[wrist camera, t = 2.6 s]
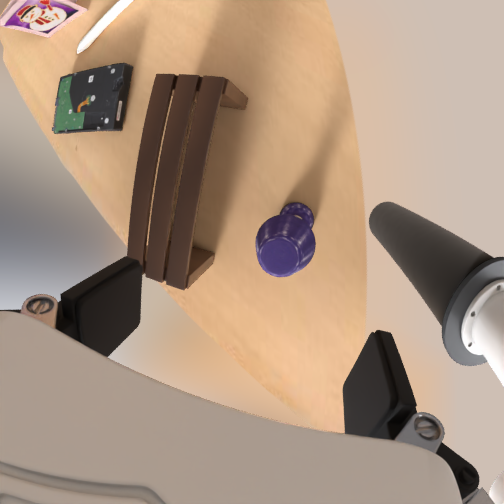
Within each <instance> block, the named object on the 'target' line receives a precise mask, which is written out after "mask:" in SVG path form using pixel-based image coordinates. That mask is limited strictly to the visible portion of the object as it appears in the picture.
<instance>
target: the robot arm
mask: <svg viewBox="0 0 504 504" xmlns="http://www.w3.org/2000/svg"><path fill="white" fill-rule="evenodd" d="M142 271H143V267H142V265H140V262H139V260H136V259H133V258H130V257H127V256H126V257H123V258H122V259H120V260H118V261H116V262H115V263H113V264H111V265H109V266H107V267H106V268H104V269H102V270H101V271H99V272H97V273H96V274H94V275H92V276H90V277H89V278H87V279H85V280H83V281H82V282H80V283H78V284H77V285H75V286H73V287H72V288H70V289H68V290H67V291H65V292H63V293H62V294H61V301H60V302H57V300H56V299H55V298H54V297H52V296H49V295H45V294H38V295H34V296H31V297H29V298H28V299H26V300H25V301H24V303H23V305H22V309H21V310H0V504H504V471H503V472H502V473H501V474H500V475H499V476H498V477H497V478H496V479H495V481H494V482H493V484H492V486H491V489H490V492H489V495H488V494H487V493H486V491H485V490H484V489H483V488H481V489H478V488H477V487H478V485H479V475H478V472H477V470H476V469H475V468H474V467H473V466H472V465H471V464H470V463H468V462H467V461H466V460H464V459H463V458H462V457H460V456H459V455H458V454H456V453H455V452H454V451H452V450H451V449H450V448H449V447H447V446H446V445H444V444H443V443H442V440H443V438H444V434H445V432H444V427H443V425H442V423H441V422H440V421H439V420H438V419H437V418H436V417H435V416H433V415H431V414H429V413H425V412H419V413H417V411H416V406H417V404H416V401H415V398H414V395H413V392H412V389H411V386H410V383H409V380H408V377H407V374H406V371H405V368H404V366H403V363H402V360H401V357H400V354H399V352H398V349H397V347H396V344H395V341H394V339H393V336H392V334H391V333H389V332H385V331H381V330H377V331H376V332H375V333H374V332H372V333H371V334H370V335H369V337H368V339H367V341H366V343H365V345H364V347H363V349H362V351H361V353H360V355H359V357H358V359H357V361H356V363H355V364H354V366H353V368H352V370H351V372H350V373H349V375H348V377H347V379H346V381H345V383H344V385H343V403H344V422H345V434H344V433H337V432H331V431H325V430H319V429H314V428H309V427H304V426H298V425H294V424H290V423H285V422H281V421H277V420H273V419H269V418H265V417H262V416H258V415H254V414H251V413H247V412H243V411H240V410H237V409H234V408H230V407H227V406H224V405H221V404H218V403H215V402H212V401H209V400H206V399H203V398H200V397H198V396H195V395H192V394H189V393H187V392H184V391H181V390H179V389H176V388H174V387H171V386H169V385H166V384H164V383H161V382H159V381H157V380H154V379H152V378H150V377H148V376H145V375H143V374H141V373H138V372H136V371H134V370H132V369H130V368H128V367H126V366H123V365H121V364H119V363H117V362H115V361H113V360H111V359H109V358H107V357H108V356H109V355H110V354H111V353H112V352H113V351H114V350H115V349H116V348H117V347H118V346H119V345H120V344H121V343H122V342H123V341H124V340H125V339H126V338H127V337H128V336H129V335H130V334H131V333H132V332H133V331H134V330H135V329H136V328H137V327H138V325H139V323H140V314H141V310H140V309H141V287H142ZM461 336H462V341H463V343H464V345H465V347H466V348H467V349H468V350H469V351H470V352H471V353H473V354H477V355H484V357H485V358H486V360H487V361H488V363H489V364H490V366H491V367H492V369H493V370H494V372H495V374H496V375H497V377H498V378H499V380H500V382H501V383H502V385H503V386H504V279H501V280H497V281H494V282H492V283H490V284H489V285H487V286H486V287H485V288H484V289H482V290H481V291H480V292H479V293H478V295H477V296H476V297H475V298H474V300H473V301H472V302H471V304H470V306H469V308H468V309H467V311H466V314H465V316H464V319H463V323H462V329H461Z"/></svg>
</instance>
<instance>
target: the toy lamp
mask: <svg viewBox="0 0 504 504" xmlns="http://www.w3.org/2000/svg"><path fill="white" fill-rule="evenodd" d="M313 224H314V217H313V213H312V211H311V210H310V209H309V208H308V207H307V206H306V205H304V204H302V203H295V202H294V203H290V204H288V205H286V206H285V207H284V208H283V209H282V211H281V212H280V215H277V216H274V217H272V218H270V219H268V220H267V221H266V222H265V223H264V224H263V225H262V226H261V227H260V229H259V231H258V233H257V236H256V252H257V257H258V261H259V264H260V265H261V267H262V268H263V270H265V271H266V272H267V273H268V274H270V275H272V276H276V277H287V276H290V275H292V274H294V273H296V272H298V271H300V270H301V269H303V268H304V267H305V266H306V265H307V264H308V263H309V262H310V261H311V259H312V257H313V255H314V252H315V245H316V243H315V237H314V234H313V232H312V230H311V229H312V227H313Z"/></svg>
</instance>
